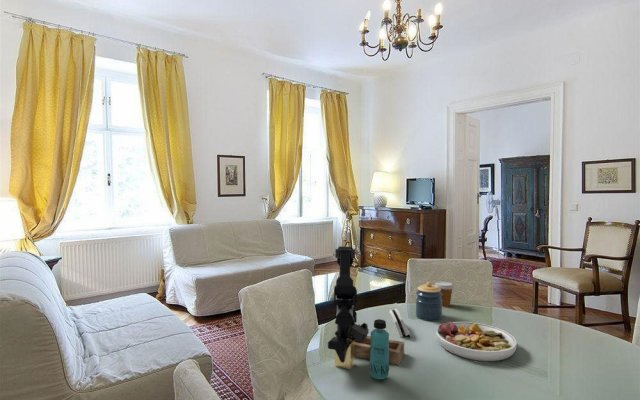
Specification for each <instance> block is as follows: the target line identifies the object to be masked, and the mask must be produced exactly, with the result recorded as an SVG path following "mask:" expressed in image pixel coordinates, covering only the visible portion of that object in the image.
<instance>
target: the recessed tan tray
mask: <svg viewBox="0 0 640 400" xmlns="http://www.w3.org/2000/svg"><path fill="white" fill-rule="evenodd" d="M370 346H371V335H367V337H366V339H365V340H364V342H359V340H357V339H355V358H356V357H357V358H362V359H368V360H370ZM404 354H405V342H404V341H400V340H393V339H389V364H392V365H400V363H401V361H402V358H403V357H404Z"/></svg>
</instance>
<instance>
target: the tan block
mask: <svg viewBox="0 0 640 400" xmlns="http://www.w3.org/2000/svg"><path fill="white" fill-rule="evenodd" d="M347 340H348V345H350V346H349V347H348V348H347V349H346V353H345V360H344V363H342V362H341V361H340V359H339V357H338V355H337V353H336V351H335V350H334V366H335V367H338V368H342V369H348V370H351V369H352V368H353V367H354V366H355V364H356V363H355V360H356V359H355V358H356V356H355V340H353V339H347Z"/></svg>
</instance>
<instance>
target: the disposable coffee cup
mask: <svg viewBox="0 0 640 400" xmlns="http://www.w3.org/2000/svg"><path fill="white" fill-rule="evenodd" d="M434 285H435V286H437V287H438V288H440V289H441V291H440V292H441V293H442V294H443V295H442V297H441V298H442V301H443V302H442V306H443V307H442V308H447V307H448V306H449V307H450V306H451V301H452V293H453V288H454V285H453V283H452V282H450V281H436V282H435V284H434Z"/></svg>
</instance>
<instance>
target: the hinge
mask: <svg viewBox="0 0 640 400" xmlns="http://www.w3.org/2000/svg"><path fill="white" fill-rule="evenodd" d="M388 313H389V316H390V319H391V322H392V325H393V326H394V328H395V330H396V332H397V334H398V335H399V337H400V338H403V337H404V336H406V337H408V335H409V337H410V338H412V337H413V336H412V334H411V332H410V330H409V329H408V327H407V326H406V324H405V322H404V320H403V317H402V315H401V313H400V311H399V309H397V308H393V309H390V310H388Z"/></svg>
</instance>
